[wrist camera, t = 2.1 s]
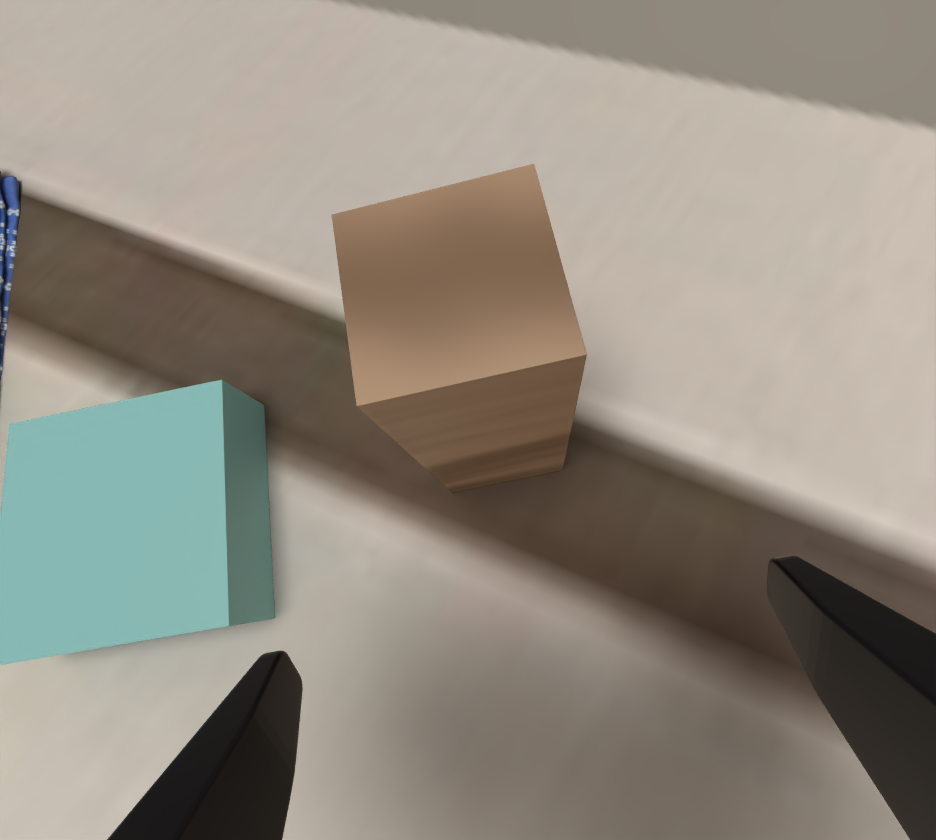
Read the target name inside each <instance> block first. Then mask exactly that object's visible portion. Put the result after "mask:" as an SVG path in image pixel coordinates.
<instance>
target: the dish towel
mask: <svg viewBox="0 0 936 840" xmlns="http://www.w3.org/2000/svg"><path fill="white" fill-rule="evenodd" d="M19 216H20V202H19V184H18V181H17V179H16V177H14V176H10V177H6V178H2V177H1V171H0V379H1V374H2V370H3V353H4V339H5V335H6V330H7V317H8V306H9V296H10V290H11V280H12V273H13V267H14V258H15V256H16V247H17V243H16V237H17V228H18V222H19Z"/></svg>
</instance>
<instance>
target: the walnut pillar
mask: <svg viewBox="0 0 936 840" xmlns="http://www.w3.org/2000/svg"><path fill="white" fill-rule="evenodd" d="M332 220H333V228H334V236H335V243H336V251H337V259H338V266H339V274H340V282H341V289H342V297H343V305H344V312H345V320H346V328H347V335H348V343H349V351H350V358H351V366H352V374H353V381H354V389H355V397H356V404H357V407H358V408H359V409H360V410H362V411H363V412H364V413H365V414H366V415H367V416H368V417H369V418H370V419H371V420H373V421H374V422H375V423H376V424H377V425H378V426H379V427H380V428H381V429H382V430H384V431H385V432H386V433H387V434H388V435H389V436H390V437H391V438H392V439H394V440H395V441H396V442H397V443H398V444H399V445H400V446H401V447H402V448H403V449H405V450H406V451H407V452H408V453H409V454H410V455H411V456H412V457H413V458H414V459H416V460H417V461H418V462H419V463H420V464H421V465H422V466H423V467H424V468H426V469H427V470H428V471H429V472H430V473H431V474H432V475H433V476H434V477H435V478H437V479H438V480H439V481H440V482H441V483H442V484H443V485H444V486H445V487H446V488H448V489H449V490H450V491H451V492H452V493H455V492H459V491H464V490H469V489H474V488H479V487H483V486H488V485H493V484H498V483H503V482H507V481H512V480H517V479H522V478H526V477H531V476H536V475H541V474H546V473H550V472H555V471H560V470H563V466H564V461H565V456H566V451H567V447H568V442H569V437H570V432H571V428H572V423H573V418H574V413H575V408H576V404H577V399H578V394H579V389H580V385H581V380H582V375H583V370H584V365H585V361H586V356H587V354H586V350H585V346H584V343H583V339H582V336H581V332H580V328H579V325H578V321H577V317H576V314H575V310H574V307H573V303H572V299H571V296H570V292H569V288H568V285H567V281H566V278H565V274H564V270H563V267H562V263H561V260H560V256H559V252H558V249H557V245H556V241H555V238H554V234H553V231H552V227H551V223H550V220H549V216H548V212H547V209H546V205H545V202H544V198H543V194H542V191H541V187H540V183H539V180H538V176H537V173H536V169H535V165H534V164H531V165H527V166H523V167H519V168H516V169H512V170H508V171H504V172H500V173H496V174H492V175H488V176H484V177H480V178H476V179H472V180H468V181H464V182H460V183H456V184H452V185H448V186H444V187H440V188H436V189H432V190H428V191H424V192H420V193H416V194H412V195H408V196H404V197H400V198H396V199H393V200H389V201H385V202H381V203H377V204H373V205H369V206H365V207H361V208H357V209H353V210H349V211H345V212H341V213H337V214H333V215H332Z"/></svg>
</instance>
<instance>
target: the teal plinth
mask: <svg viewBox="0 0 936 840" xmlns="http://www.w3.org/2000/svg"><path fill="white" fill-rule="evenodd" d="M273 618H275V607H274V588H273V568H272V549H271V529H270V510H269V491H268V471H267V452H266V432H265V413H264V405H263V404H261V403H260V402H258V401H256V400H255V399H253V398H251V397H250V396H248V395H246V394H245V393H243V392H241V391H240V390H238V389H236V388H235V387H233V386H232V385H230V384H228V383H227V382H225V381H223V380H218V381H214V382H209V383H204V384H199V385H194V386H190V387H185V388H180V389H175V390H170V391H166V392H161V393H156V394H151V395H146V396H142V397H137V398H132V399H127V400H122V401H118V402H113V403H108V404H103V405H98V406H94V407H89V408H84V409H79V410H74V411H70V412H65V413H60V414H55V415H50V416H46V417H41V418H36V419H31V420H26V421H22V422H17V423H12V424H9V433H8V443H7V453H6V464H5V474H4V485H3V495H2V505H1V516H0V665H3V664H9V663H15V662H21V661H27V660H32V659H38V658H44V657H50V656H56V655H62V654H68V653H74V652H79V651H85V650H91V649H97V648H103V647H109V646H115V645H121V644H126V643H132V642H138V641H144V640H150V639H156V638H162V637H167V636H173V635H179V634H185V633H191V632H197V631H203V630H209V629H214V628H220V627H226V626H232V625H238V624H244V623H249V622H255V621H261V620H267V619H273Z"/></svg>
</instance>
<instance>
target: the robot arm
mask: <svg viewBox="0 0 936 840" xmlns="http://www.w3.org/2000/svg"><path fill="white" fill-rule="evenodd" d="M767 596H768V599H769V602H770V604H771V606H772V608H773V610H774V612H775V614H776V616H777V618H778V620H779V622H780V624H781V626H782V628H783V630H784V632H785V634H786V636H787V638H788V640H789V642H790V644H791V646H792V648H793V650H794V652H795V654H796V656H797V658H798V660H799V662H800V664H801V666H802V668H803V670H804V672H805V673H806V675H807V677H808V679H809V681H810V683H811V685H812V687H813V688H814V690H815V692H816V693H817V695H818V696H819V698H820V700H821V701H822V703H823V705H824V706H825V708H826V709H827V711H828V712H829V714H830V715H831V717H832V719H833V720H834V722H835V723H836V725H837V726H838V728H839V729H840V731H841V733H842V734H843V736H844V737H845V739H846V740H847V742H848V743H849V745H850V747H851V748H852V750H853V751H854V753H855V754H856V756H857V757H858V759H859V761H860V762H861V764H862V765H863V767H864V768H865V770H866V771H867V773H868V775H869V776H870V778H871V779H872V781H873V782H874V784H875V785H876V787H877V789H878V790H879V792H880V793H881V795H882V796H883V798H884V799H885V801H886V803H887V804H888V806H889V807H890V809H891V810H892V812H893V813H894V815H895V817H896V818H897V820H898V821H899V823H900V824H901V826H902V828H903V829H904V831H905V832H906V834H907V835H908V837H909V838H910V840H936V633H935V632H933V631H931V630H930V629H928V628H926V627H924V626H922V625H921V624H919V623H917V622H915V621H913V620H912V619H910V618H908V617H906V616H905V615H903V614H901V613H899V612H897V611H896V610H894V609H892V608H890V607H888V606H887V605H885V604H883V603H881V602H880V601H878V600H876V599H874V598H872V597H871V596H869V595H867V594H865V593H863V592H862V591H860V590H858V589H856V588H855V587H853V586H851V585H849V584H847V583H846V582H844V581H842V580H840V579H838V578H837V577H835V576H833V575H831V574H829V573H828V572H826V571H824V570H822V569H821V568H819V567H817V566H815V565H813V564H812V563H810V562H808V561H806V560H804V559H803V558H801V557H799V556H796V555H785V556H780V557H774V558H772V559H771V560H770V561H769V564H768V578H767ZM301 700H302V680H301V677H300V675H299V673H298V671H297V670H296V668H295V666H294V664H293V663H292V661H291V659H290V658H289V656H288V654H287V653H286V652H284V651H276V652H270V653H266V654H263V655H262V656H260V657H259V658H258V660H257V661H256V662H255V663H254V664H253V666H252V667H251V668H250V669H249V670H248V672H247V673H246V674H245V675H244V676H243V678H242V679H241V680H240V681H239V682H238V684H237V685H236V686H235V687H234V688H233V690H232V691H231V692H230V693H229V694H228V696H227V697H226V698H225V699H224V700H223V701H222V703H221V704H220V705H219V706H218V707H217V709H216V710H215V711H214V712H213V713H212V715H211V716H210V717H209V718H208V719H207V721H206V722H205V723H204V724H203V725H202V727H201V728H200V729H199V730H198V731H197V733H196V734H195V735H194V736H193V737H192V739H191V740H190V741H189V742H188V743H187V745H186V746H185V747H184V748H183V749H182V751H181V752H180V753H179V754H178V755H177V757H176V758H175V759H174V760H173V761H172V763H171V764H170V765H169V766H168V767H167V769H166V770H165V771H164V772H163V773H162V775H161V776H160V777H159V778H158V779H157V781H156V782H155V783H154V784H153V785H152V787H151V788H150V789H149V790H148V791H147V793H146V794H145V795H144V796H143V797H142V799H141V800H140V801H139V802H138V803H137V805H136V806H135V807H134V808H133V809H132V811H131V812H130V813H129V814H128V815H127V817H126V818H125V819H124V820H123V821H122V823H121V824H120V825H119V826H118V827H117V829H116V830H115V831H114V832H113V833H112V834H111V836H110V837H109V838H108V839H107V840H282V837H283V832H284V827H285V822H286V817H287V812H288V806H289V801H290V796H291V791H292V785H293V779H294V772H295V764H296V754H297V743H298V733H299V722H300V711H301Z"/></svg>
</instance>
